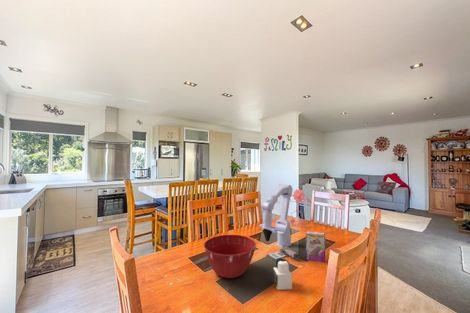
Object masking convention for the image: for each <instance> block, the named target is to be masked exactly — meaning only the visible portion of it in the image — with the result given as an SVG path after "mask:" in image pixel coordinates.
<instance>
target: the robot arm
mask: <svg viewBox="0 0 470 313" xmlns="http://www.w3.org/2000/svg"><path fill="white" fill-rule="evenodd" d="M293 192H294V191H293V185H291V184H282V183H281V184H280V183H279V184H278V185H277V186H276V191H275V192H274V193H273V194H270V196H269V197H268V198H267V199H266V201H263V202H262V203H261V210H262V211H261V212H262V219H263V220H262V223H260V224H259V228H261V229H262V232H263V235H264V239H265V241H266V242H270V239H271V236H272V234H276V233H277V237H276V238H277V242H276V243H274V244H275V245H276V246H278V247H280V248H282V246H287V247H291V246H292V235H291V233H290V232H291V222H289V221H288V215H289V208H290V202H291V201H290V199H291V197H293V196H292V195H293ZM280 197H282V202H281V203H282V204H281V208H280V210H281V211H280V216H279V219H276V222H275V225H274V227H273V210H274V208H275V204H277V202H278V201H279V199H278V198H280Z"/></svg>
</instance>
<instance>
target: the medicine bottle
mask: <svg viewBox="0 0 470 313" xmlns="http://www.w3.org/2000/svg"><path fill="white" fill-rule="evenodd" d="M289 264H290V262H289V260H288V259H285V258H282V259H277V260H275V267H274V266H273V267H272V269H273V274H272V276H273V277H272V279H273V284H274V286H275V287H276V290H277V291H282V290H293V274H292V272H291V271H290V270H289V268H290V266H289Z"/></svg>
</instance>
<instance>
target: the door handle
mask: <svg viewBox="0 0 470 313" xmlns="http://www.w3.org/2000/svg"><path fill="white" fill-rule="evenodd" d="M281 248H282V249H281V250H282V252H284V253H286V254H288V255H287V256H290V257H291V258H293V259H295V260H299V259H300V254H299V253H298V252H296V251H294V250H292V249H291V248H289V246H282V247H281Z"/></svg>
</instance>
